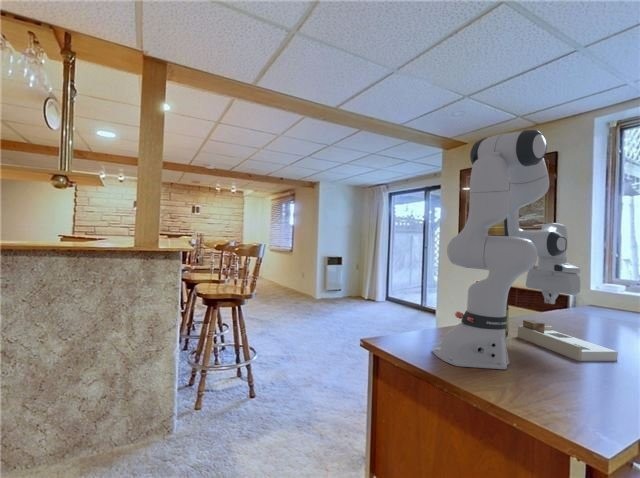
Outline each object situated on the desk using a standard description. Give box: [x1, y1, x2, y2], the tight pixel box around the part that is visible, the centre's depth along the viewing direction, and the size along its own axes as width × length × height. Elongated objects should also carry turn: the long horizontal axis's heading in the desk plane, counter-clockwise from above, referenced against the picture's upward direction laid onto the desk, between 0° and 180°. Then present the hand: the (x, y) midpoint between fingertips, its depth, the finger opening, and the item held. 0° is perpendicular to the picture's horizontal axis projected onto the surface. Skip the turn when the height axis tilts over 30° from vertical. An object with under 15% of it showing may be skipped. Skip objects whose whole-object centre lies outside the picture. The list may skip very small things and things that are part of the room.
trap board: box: [517, 325, 619, 362], centre depth 119 cm, size 15×26×4 cm, turn 9°
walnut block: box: [522, 319, 546, 334], centre depth 128 cm, size 5×5×4 cm
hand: (549, 303), depth 121 cm, fingers closed
